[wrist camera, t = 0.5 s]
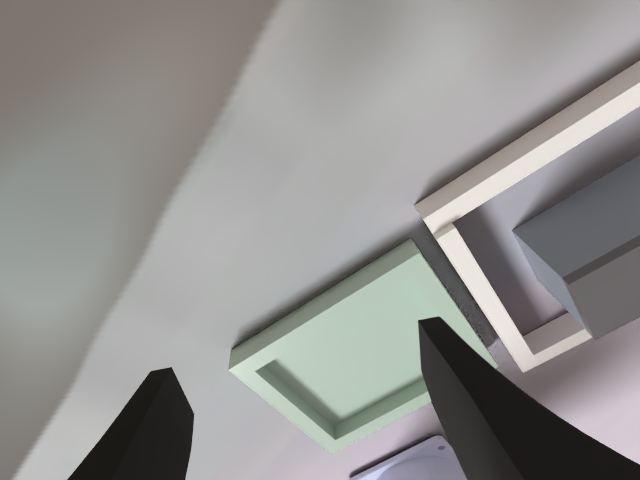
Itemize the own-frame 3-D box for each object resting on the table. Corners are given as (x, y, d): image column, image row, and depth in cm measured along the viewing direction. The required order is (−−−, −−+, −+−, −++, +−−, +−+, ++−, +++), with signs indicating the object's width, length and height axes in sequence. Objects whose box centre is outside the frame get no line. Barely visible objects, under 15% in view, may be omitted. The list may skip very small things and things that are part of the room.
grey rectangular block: (658, 210, 22) (751, 260, 18) (536, 278, 24) (595, 339, 19) (641, 151, 20) (739, 191, 16) (510, 229, 22) (568, 284, 18)
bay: (703, 253, 24) (736, 273, 22) (510, 354, 26) (527, 379, 25) (654, 50, 18) (694, 55, 16) (413, 205, 21) (426, 224, 19)
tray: (487, 348, 26) (498, 367, 25) (328, 433, 29) (331, 454, 27) (410, 237, 22) (419, 252, 20) (230, 350, 24) (228, 369, 23)
